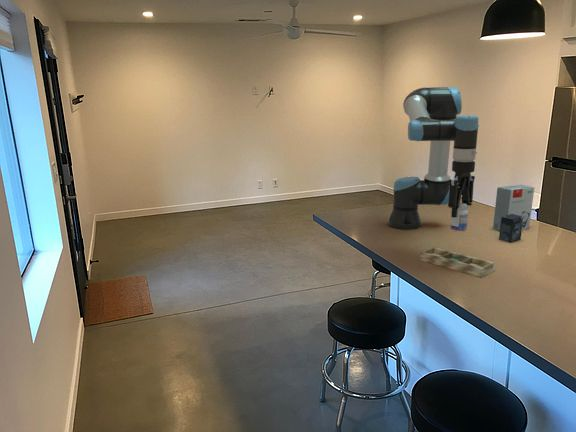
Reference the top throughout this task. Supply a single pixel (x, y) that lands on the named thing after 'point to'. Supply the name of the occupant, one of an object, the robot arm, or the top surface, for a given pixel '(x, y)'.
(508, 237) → the box
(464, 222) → the pill bottle
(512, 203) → the hard drive box
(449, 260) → the three-compartment tray
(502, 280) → the top surface
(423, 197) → the robot arm
